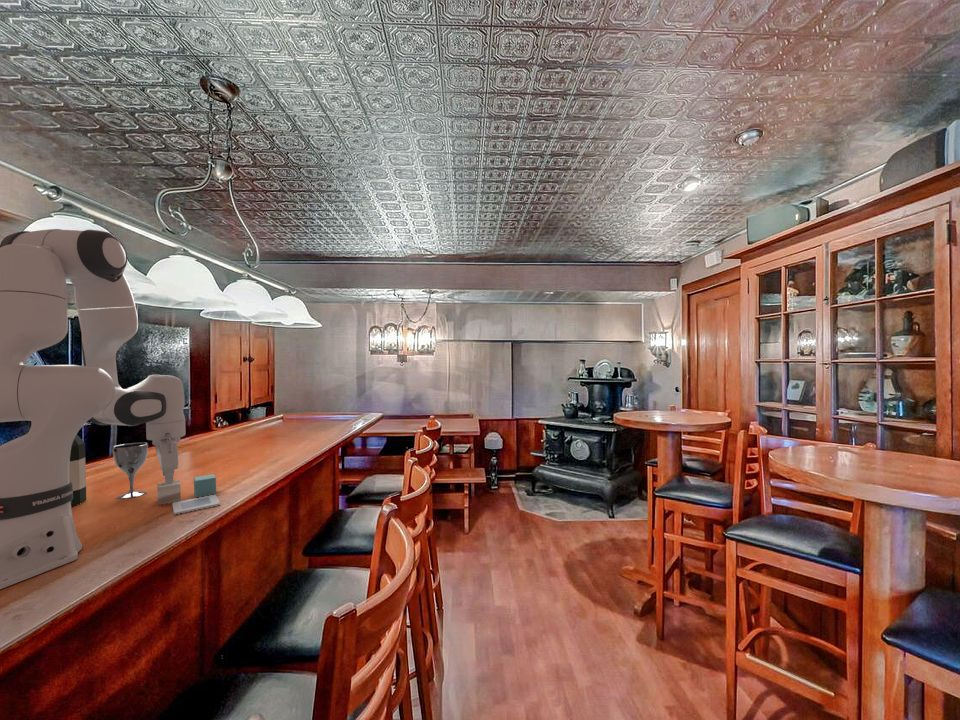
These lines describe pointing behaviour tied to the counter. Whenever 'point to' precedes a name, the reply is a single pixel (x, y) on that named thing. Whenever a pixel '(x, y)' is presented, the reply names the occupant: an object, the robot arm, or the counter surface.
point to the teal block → (204, 485)
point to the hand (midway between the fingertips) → (167, 478)
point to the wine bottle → (78, 471)
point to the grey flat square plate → (195, 504)
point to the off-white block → (168, 492)
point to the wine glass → (130, 463)
